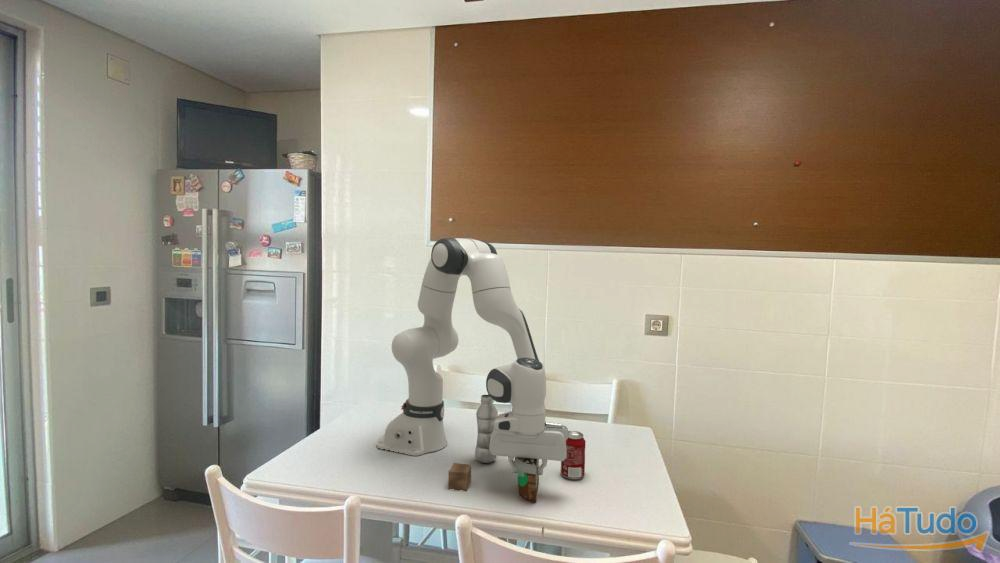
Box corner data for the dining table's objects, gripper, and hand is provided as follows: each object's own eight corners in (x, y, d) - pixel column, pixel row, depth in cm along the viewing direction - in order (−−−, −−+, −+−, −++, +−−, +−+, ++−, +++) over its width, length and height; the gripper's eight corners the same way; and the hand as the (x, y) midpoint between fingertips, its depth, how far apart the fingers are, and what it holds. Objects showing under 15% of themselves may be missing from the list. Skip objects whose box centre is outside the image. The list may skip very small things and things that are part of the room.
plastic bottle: (475, 456, 139) (476, 392, 138) (497, 456, 139) (498, 393, 138) (473, 465, 133) (475, 399, 132) (496, 466, 132) (497, 399, 132)
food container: (517, 480, 124) (516, 444, 124) (539, 481, 123) (538, 446, 123) (511, 503, 112) (510, 464, 112) (535, 505, 111) (535, 466, 111)
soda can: (584, 482, 124) (585, 440, 123) (559, 479, 125) (560, 437, 124) (584, 471, 130) (585, 431, 130) (561, 468, 132) (562, 428, 131)
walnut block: (448, 489, 119) (448, 471, 118) (453, 480, 124) (453, 462, 123) (466, 491, 118) (467, 473, 118) (470, 482, 123) (471, 464, 122)
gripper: (568, 420, 118) (567, 471, 119) (492, 414, 122) (492, 464, 122) (568, 428, 112) (567, 482, 113) (488, 422, 115) (487, 475, 116)
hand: (527, 473), depth 117 cm, fingers closed on food container, 5 cm apart
